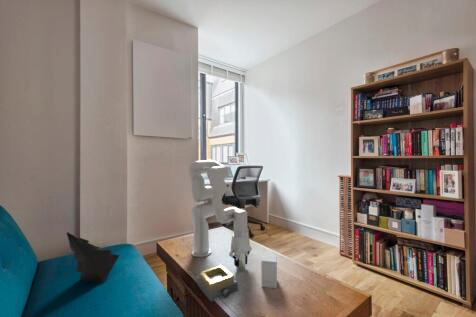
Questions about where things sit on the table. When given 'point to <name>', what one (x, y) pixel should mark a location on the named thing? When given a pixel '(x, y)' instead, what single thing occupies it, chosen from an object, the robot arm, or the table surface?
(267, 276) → the supplement box
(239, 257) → the pale green bottle
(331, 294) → the table surface
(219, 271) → the grey and gold box
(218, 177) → the robot arm
